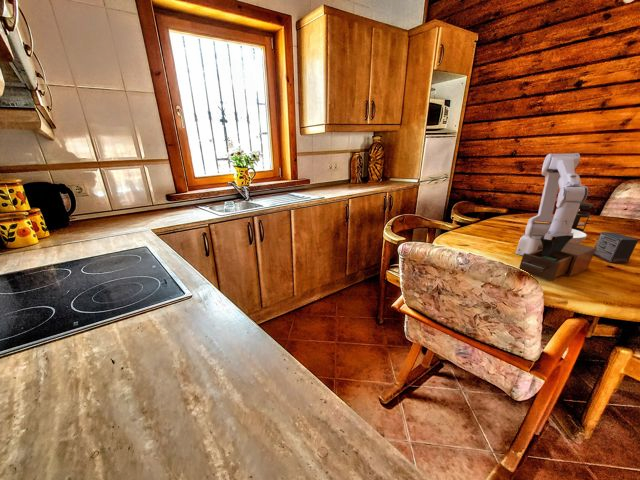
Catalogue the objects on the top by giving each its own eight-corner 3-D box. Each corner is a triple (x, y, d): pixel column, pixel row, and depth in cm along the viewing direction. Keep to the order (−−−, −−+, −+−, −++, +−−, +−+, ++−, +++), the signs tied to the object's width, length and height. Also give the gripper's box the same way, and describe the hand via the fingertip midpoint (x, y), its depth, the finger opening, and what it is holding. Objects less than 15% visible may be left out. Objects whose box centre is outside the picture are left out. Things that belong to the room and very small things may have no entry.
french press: (582, 233, 150) (599, 190, 141) (585, 238, 144) (603, 193, 134) (553, 230, 157) (568, 189, 148) (554, 235, 150) (569, 192, 141)
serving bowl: (577, 254, 126) (583, 240, 123) (520, 244, 141) (524, 231, 138) (585, 243, 138) (590, 230, 135) (531, 234, 153) (535, 222, 150)
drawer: (546, 283, 102) (552, 265, 99) (512, 272, 112) (517, 255, 109) (570, 272, 109) (577, 255, 106) (536, 263, 118) (542, 247, 115)
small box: (629, 263, 116) (640, 239, 111) (610, 262, 117) (620, 239, 113) (607, 254, 125) (617, 231, 121) (590, 253, 126) (599, 231, 122)
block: (535, 268, 112) (538, 258, 110) (541, 265, 114) (544, 255, 112) (548, 272, 108) (552, 261, 106) (554, 269, 110) (558, 259, 108)
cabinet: (569, 276, 108) (577, 255, 104) (531, 265, 118) (538, 245, 115) (587, 268, 113) (596, 247, 110) (550, 258, 124) (557, 239, 120)
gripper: (566, 225, 97) (553, 261, 102) (587, 219, 102) (573, 253, 107) (542, 221, 102) (531, 254, 108) (563, 215, 108) (551, 247, 113)
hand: (551, 253), depth 108 cm, fingers open, 7 cm apart
